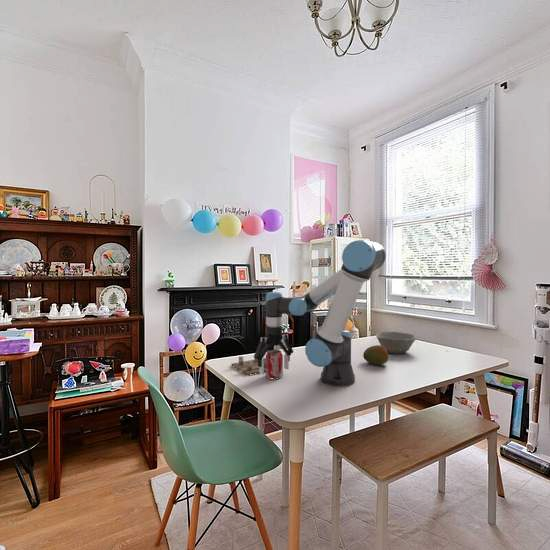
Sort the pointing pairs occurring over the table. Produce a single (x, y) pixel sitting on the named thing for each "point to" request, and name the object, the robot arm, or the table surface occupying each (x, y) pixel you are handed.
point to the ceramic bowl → (396, 341)
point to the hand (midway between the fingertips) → (274, 371)
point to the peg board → (254, 368)
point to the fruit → (376, 355)
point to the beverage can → (274, 364)
